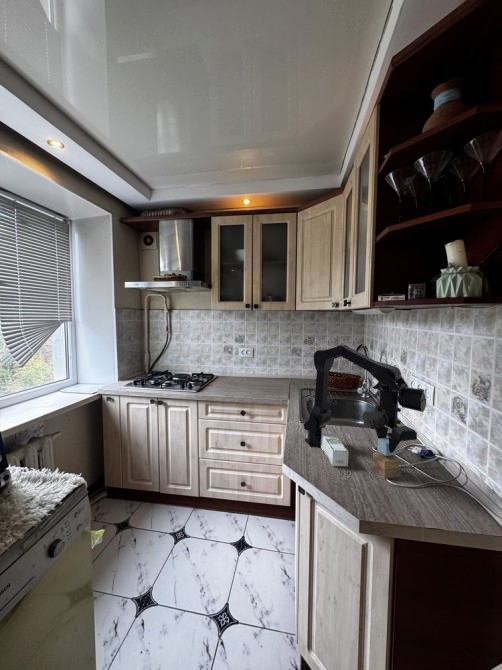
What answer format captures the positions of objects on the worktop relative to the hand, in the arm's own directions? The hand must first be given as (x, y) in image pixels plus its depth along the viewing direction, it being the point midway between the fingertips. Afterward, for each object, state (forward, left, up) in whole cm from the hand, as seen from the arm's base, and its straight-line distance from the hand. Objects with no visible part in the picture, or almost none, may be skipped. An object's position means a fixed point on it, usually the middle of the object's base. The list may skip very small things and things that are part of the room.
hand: (386, 449), depth 89 cm
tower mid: (0, 0, -5) cm, 5 cm away
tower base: (0, 0, -8) cm, 8 cm away
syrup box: (-6, -13, -5) cm, 16 cm away
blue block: (0, 0, -1) cm, 1 cm away
